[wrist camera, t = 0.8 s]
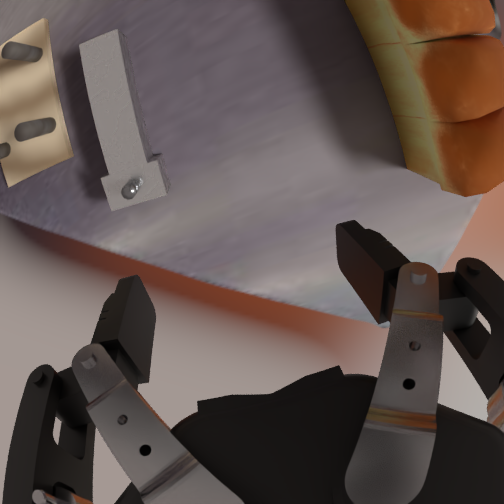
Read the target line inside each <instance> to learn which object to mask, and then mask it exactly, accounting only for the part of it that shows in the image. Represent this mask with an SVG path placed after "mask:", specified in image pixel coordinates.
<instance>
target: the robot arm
mask: <svg viewBox="0 0 504 504" xmlns="http://www.w3.org/2000/svg"><path fill="white" fill-rule="evenodd" d="M336 245H337V260H338V265H339V268H340V270H341V272H342V273H343V275H344V276H345V277H346V279H347V280H348V282H349V283H350V284H351V286H352V287H353V289H354V290H355V291H356V293H357V294H358V296H359V297H360V298H361V300H362V301H363V303H364V304H365V306H366V307H367V309H368V310H369V311H370V313H371V314H372V316H373V317H374V319H375V320H376V322H377V323H378V325H379V324H381V323H384V322H386V321H389V322H390V328H389V333H388V338H387V343H386V347H385V352H384V356H383V360H382V364H381V368H380V372H379V376H378V378H377V377H374V376H369V375H363V374H345V375H344V374H343V372H342V370H341V368H340V366H339V365H338V366H335V367H332V368H329V369H326V370H324V371H320V372H317V373H314V374H310V375H307V376H305V377H303V378H301V379H299V380H297V381H295V382H293V383H292V384H290V385H288V386H286V387H284V388H282V389H280V390H278V391H276V392H274V393H271V394H261V395H228V396H223V397H218V398H213V399H207V400H201V401H197V403H198V404H197V405H198V412H196V413H193V414H191V415H190V416H188V417H186V418H185V419H183V420H181V421H180V422H179V423H178V424H176V425H175V426H174V427H173V428H172V429H170V428H169V426H167V424H166V423H165V422H164V421H163V420H162V419H161V418H160V417H159V416H158V414H157V413H156V412H155V411H154V410H153V409H152V407H151V406H150V405H149V404H148V403H147V402H146V400H145V399H144V398H143V397H142V395H141V394H140V393H139V392H138V391H137V389H138V384H142V383H148V382H149V376H150V366H151V355H152V347H153V338H154V330H155V323H156V313H155V309H154V306H153V303H152V302H151V299H150V297H149V295H148V293H147V291H146V289H145V287H144V285H143V283H142V281H141V279H140V277H139V276H138V275H134V276H130V277H126V278H122V279H120V280H119V282H118V285H117V287H116V290H115V293H112V294H111V295H110V296H109V298H108V299H107V300H106V301H105V303H104V305H103V308H102V311H101V314H100V317H99V321H98V323H97V326H96V329H95V332H94V335H93V338H92V341H91V344H90V345H87V346H85V347H83V348H82V349H80V350H79V351H78V352H77V353H76V355H75V356H74V358H73V360H72V367H69V368H67V369H65V370H63V371H60V372H58V373H57V372H56V371H55V370H54V369H53V368H52V366H50V365H47V364H45V365H41V366H39V367H37V368H36V369H35V370H34V371H33V372H32V373H31V374H30V376H29V378H28V380H27V383H26V386H25V389H24V393H23V396H22V399H21V403H20V407H19V410H18V414H17V418H16V422H15V426H14V430H13V435H12V440H11V444H10V449H9V455H8V461H7V467H6V474H5V482H4V491H3V502H2V504H93V499H92V498H93V495H92V494H93V493H92V491H93V490H92V489H93V483H92V482H93V457H94V441H95V429H96V427H97V429H98V431H99V433H100V434H101V436H102V437H103V439H104V441H105V443H106V444H107V446H108V447H109V449H110V450H111V452H112V454H113V455H114V456H115V458H116V460H117V461H118V463H119V464H120V465H121V467H122V468H123V470H124V471H125V473H126V474H127V476H128V477H129V478H130V480H131V481H132V482H131V483H130V484H129V486H128V487H127V488H126V490H125V491H124V492H123V493H122V495H121V496H120V497H119V498H118V500H117V501H116V502H115V503H114V504H504V281H503V280H502V279H501V278H500V277H499V276H498V275H497V274H496V273H495V272H494V271H493V270H492V269H491V268H490V267H489V266H488V265H486V264H485V263H484V262H482V261H481V260H479V259H476V258H462V259H460V260H459V261H458V262H457V265H456V269H455V272H446V273H437V271H436V270H435V269H434V268H433V267H431V266H430V265H428V264H425V263H421V262H410V261H409V260H408V259H407V258H406V257H405V256H404V255H403V254H402V253H401V252H400V251H399V250H398V249H397V248H395V247H394V246H393V245H392V244H391V243H390V242H389V241H387V239H386V238H384V237H383V236H382V235H381V234H380V233H378V232H376V231H373V230H371V229H364V228H363V227H362V226H361V225H360V224H359V223H358V222H357V221H355V220H351V221H347V222H343V223H339V224H337V225H336ZM478 311H479V312H480V313H481V314H482V315H483V316H484V317H485V319H486V320H487V321H488V323H489V324H490V327H491V335H490V333H489V332H488V331H487V330H486V328H485V327H484V326H483V325H482V323H481V322H480V321H479V320H478V318H477V317H476V316H477V314H478ZM443 332H444V333H445V335H446V336H447V337H448V339H449V340H450V342H451V343H452V345H453V346H454V348H455V349H456V351H457V352H458V353H459V355H460V356H461V358H462V359H463V361H464V362H465V364H466V365H467V367H468V369H469V370H470V371H471V373H472V375H473V376H474V378H475V380H476V381H477V383H478V384H479V386H480V387H481V389H482V391H483V393H484V394H485V396H486V398H487V399H488V404H487V412H488V417H487V422H486V421H483V420H480V419H477V418H475V417H472V416H469V415H467V414H464V413H462V412H459V411H456V410H454V409H451V408H449V407H446V406H444V405H441V404H438V395H439V387H440V378H441V367H442V351H443ZM55 417H57V418H58V419H59V420H60V421H62V423H61V430H60V437H59V443H58V445H57V444H56V442H55V441H54V438H53V428H54V422H55Z"/></svg>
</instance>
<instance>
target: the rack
mask: <svg viewBox="0 0 504 504" xmlns="http://www.w3.org/2000/svg"><path fill="white" fill-rule="evenodd" d="M73 156H74V155H73V151H72V148H71V144H70V140H69V137H68V133H67V129H66V125H65V121H64V117H63V112H62V108H61V104H60V99H59V94H58V89H57V84H56V78H55V72H54V66H53V59H52V52H51V45H50V36H49V25H48V20H47V19H45V18H43V19H41V20H39V21H38V22H36V23H34V24H33V25H31V26H29V27H28V28H26V29H24V30H23V31H21V32H20V33H18V34H17V35H15V36H14V37H12V38H11V39H9V40H8V41H7V42H5V43H4V44H2V45H1V46H0V162H1V165H2V169H3V172H4V175H5V178H6V181H7V185H8V188H9V187H10V186H12V185H14V184H16V183H18V182H20V181H22V180H24V179H26V178H28V177H30V176H32V175H34V174H36V173H38V172H40V171H42V170H44V169H46V168H48V167H51V166H53V165H55V164H57V163H60V162H62V161H64V160H66V159H69V158H71V157H73Z"/></svg>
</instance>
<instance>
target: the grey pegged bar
mask: <svg viewBox="0 0 504 504" xmlns="http://www.w3.org/2000/svg"><path fill="white" fill-rule="evenodd" d="M79 48H80V54H81V60H82V66H83V71H84V76H85V82H86V87H87V91H88V96H89V101H90V105H91V109H92V114H93V118H94V122H95V126H96V130H97V134H98V137H99V141H100V145H101V148H102V152H103V155H104V159H105V162H106V166H107V169H108V173H106V174H105V175H104V176H103V177H101V181H102V184H103V187H104V190H105V193H106V196H107V199H108V202H109V205H110V208H111V211H114V210H118V209H121V208H124V207H127V206H131V205H134V204H138V203H141V202H144V201H148V200H152V199H155V198H159V197H162V196H166V195H167V194H168V191H169V188H170V185H171V184H170V180H169V176H168V173H167V169H166V165H165V161H164V158H163V154H159V155H155V156H153V152H152V148H151V144H150V140H149V137H148V133H147V129H146V124H145V120H144V116H143V112H142V108H141V103H140V99H139V95H138V90H137V85H136V81H135V76H134V71H133V66H132V61H131V56H130V51H129V45H128V40H127V37H126V36H125V35H124V34H123V33H121V32H120V31H119V30H118V29H116V30H114V31H111V32H108V33H106V34H103V35H101V36H98V37H96V38H93V39H91V40H89V41H86V42H84V43H82V44H80V45H79Z"/></svg>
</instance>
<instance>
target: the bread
mask: <svg viewBox="0 0 504 504" xmlns="http://www.w3.org/2000/svg"><path fill="white" fill-rule="evenodd" d="M344 1H345V3H346V5H347V6H348V8H349V10H350V12H351V14H352V16H353V18H354V20H355V22H356V24H357V26H358V28H359V30H360V32H361V35H362V37H363V39H364V41H365V43H366V46H367V48H368V50H369V53H370V55H371V57H372V60H373V62H374V65H375V67H376V70H377V72H378V75H379V77H380V80H381V83H382V85H383V88H384V91H385V94H386V97H387V100H388V103H389V106H390V109H391V112H392V115H393V118H394V121H395V125H396V128H397V132H398V135H399V139H400V142H401V146H402V150H403V154H404V158H405V162H406V166H407V169H408V170H411V171H413V172H415V173H417V174H420V175H422V176H424V177H426V178H428V179H430V180H432V181H435V182H437V183H439V184H440V186H441V189H442V190H444V191H447V192H451V193H454V194H458V195H461V196H464V197H468V196H473V195H478V194H483V193H487V192H489V191H490V190H492V189H493V188H494V187H496V186H497V185H499V184H500V183H502V182H503V181H504V47H503V45H502V43H501V41H500V40H498V39H496V38H494V37H491V36H487V35H472V34H483V33H489V32H490V31H491V30H492V29H493V28H494V27H495V16H494V11H493V9H492V6H491V4H490V2H489V0H344Z"/></svg>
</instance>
